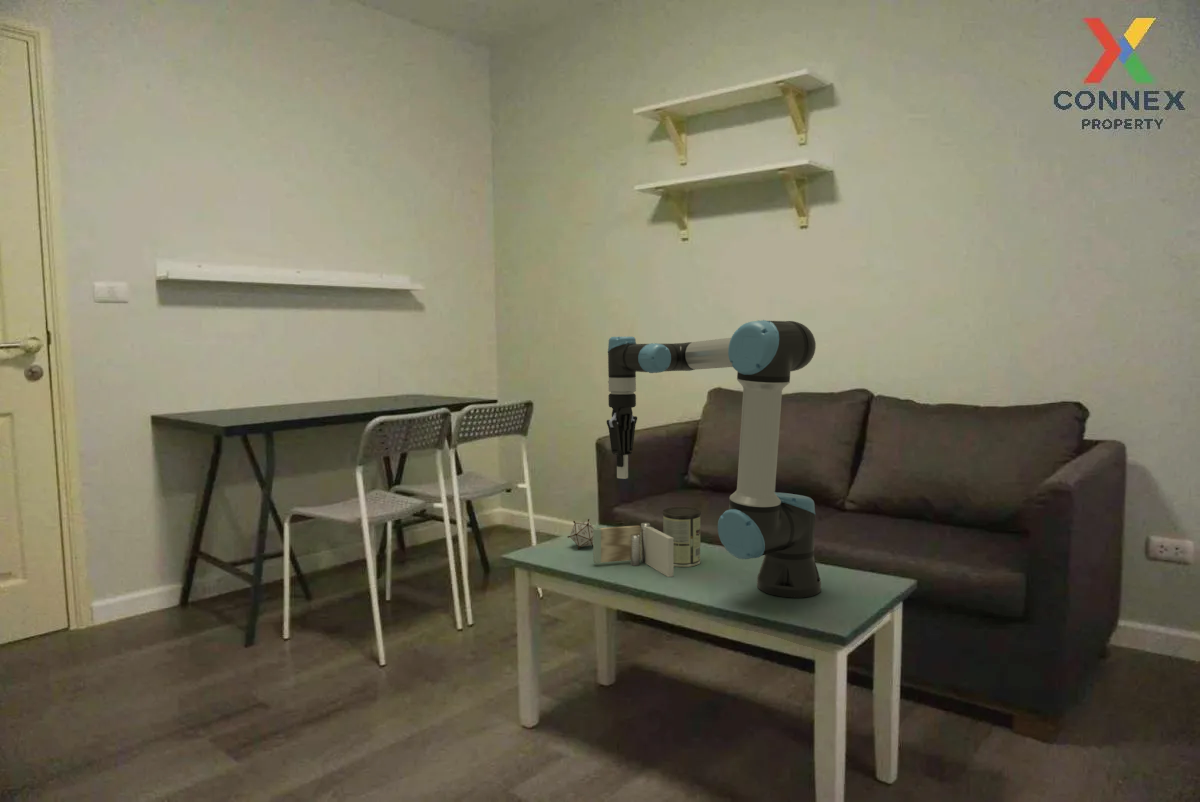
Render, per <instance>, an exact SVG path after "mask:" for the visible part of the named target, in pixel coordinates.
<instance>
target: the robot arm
mask: <svg viewBox="0 0 1200 802" xmlns="http://www.w3.org/2000/svg"><path fill="white" fill-rule="evenodd" d="M607 346H608V349H607V359H608V360H607V364H608V365H607V368H608V369H607V371H608V373H607V374H608V381H607V383H608V392H610V393H609V394H608V407H609V408H612V411H611V418H610V419H607V420H606V425H607V429H608V434H609V442H610V448H611V453H612V455H615V456H616V478H617V479H622V480H624V479H625V480H626V479H629V455H632V454H633V452H632V451H633V449H634V441H635V433H636V432H635V431H636V425H637V422H638V416H634V415H633V409H632V408H635V407H636V406H637V395H636V393H635V392H636V391H637V381H636V379H637V374H636V373H637V372H638V373H649V374H657V373H663V372H682V371H683V372H684V371H685V372H690V371H695V370H707V369H724V368H726V369H727V368H733V369H734V370H735V371H736V372H737V373H736V374H737V375H736V376H737V377H736V380H737V381H738V382H739V384H740V385H741V386H742V388H743V389H742V403H741V404H742V405H741V419H740V434H739V451H738V452H739V453H738V466H737V469H738V470H737V482H736V483H737V484H736V490H735V491H734V492H733V493H732V494H730V495H729V503H728V509H726V510H725V511H724V512H723V513H722V514H721V515H720V516H719V519H718V521H717V534H718V537H719V541H720V542H721V545H723V546H724V548H725V550H726V551H727V552H728V553H729V554H730V555H732V556H733V557H735V558H737V559H739V560H749V559H759V558H760V557H762V556H764V557H763V560H762V561H761V566H760V568H759V572H758V575H757V577H756V587H757V589H758V590H760V591H762V592H764V593H766V594H769V595H771V596H772V595H773V596H777V597H782V598H794V599H796V598H809V597H813V596H816V595H818V594H819V593H821V591H822V580H821V577H820V574H819V571H818V567H817V564H816V561H815V531H816V530H815V528H816V527H815V523H816V522H815V521H816V509H815V506H816V505H815V501H814V500H813V499H812V498H811V497H810V496H806V495H802V494H796V493H795V494H793V493H787V492H776V482H777V481H776V480H777V469H778V468H777V467H778V452H779V442H780V441H779V440H780V425H781V413H782V412H781V409H782V399H783V398H782V397H783V390H784V389H785V387H787V386H788V385H789V384H790V381H791V372H795V371H799V370H801V369H803V368H805V367H806V366H807V365H809V363H811V362H812V359H813V358H814V355H815V354H816V348H817V344H816V339H815V336H814V334H813V332H812V331H811V330H810V329H809V327H807V326H806V325H805V324H803V323H801V322H797V321H793V320H786V321H785V320H765V319H761V320H758V319H757V320H754V321H753V320H752V321H748V322H745V323H743V324H741V325H740V326H739V327H738V328H737V329H736V330H735V332H733V334H732V336H731V337H726V338H716V339H707V340H698V341H691V342H690V341H689V342H687V341H686V342H679V343H678V342H677V343H676V342H675V343H657V342H656V343H655V342H654V343H653V342H652V343H637V341H636V338H635V336H611V337H609V339H608V344H607Z"/></svg>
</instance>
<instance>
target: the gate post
mask: <svg viewBox="0 0 1200 802" xmlns="http://www.w3.org/2000/svg"><path fill="white" fill-rule="evenodd" d="M640 527H641V559H640V562H641V563H644V564H646V563H645V527H651V524H650V522H641V523H640Z"/></svg>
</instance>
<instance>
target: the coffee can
mask: <svg viewBox="0 0 1200 802" xmlns="http://www.w3.org/2000/svg"><path fill="white" fill-rule="evenodd" d="M701 515H702V511H701V510H700V509H698V508H695V507H689V506H688V507H687V506H674V507H667V508H665V509H662V523H663V524H662V525H663V527H662V528H663V529H662V533H664V534H666V535H668V536H670V537H673V538H674V546H673V567H677V568H688V567H689V568H690V567H695V566H699V565H700V564H701Z"/></svg>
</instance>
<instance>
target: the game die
mask: <svg viewBox="0 0 1200 802" xmlns="http://www.w3.org/2000/svg"><path fill="white" fill-rule="evenodd" d="M572 522H573V523H574V525H573V528H572V529H571V532H570V535H568V536H567V538H568V539H569V538H570V539H571V540H572V541H573V542H574V543H575V545H576V546H578V547H577V550H580V548H583V547H589V546H592V547H593V528H595V526H593V525H592V524H591V522H590V518H588V519H587V520H586V521H578V522H577V521H575V520H573V521H572Z"/></svg>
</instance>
